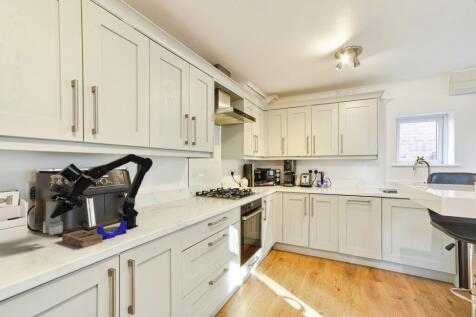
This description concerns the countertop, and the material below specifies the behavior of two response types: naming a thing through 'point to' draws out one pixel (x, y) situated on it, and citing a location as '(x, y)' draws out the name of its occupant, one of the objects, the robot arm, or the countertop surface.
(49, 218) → the grey tower on plinth
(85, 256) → the countertop surface
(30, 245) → the countertop surface
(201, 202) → the countertop surface
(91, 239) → the rail
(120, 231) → the cable clip
